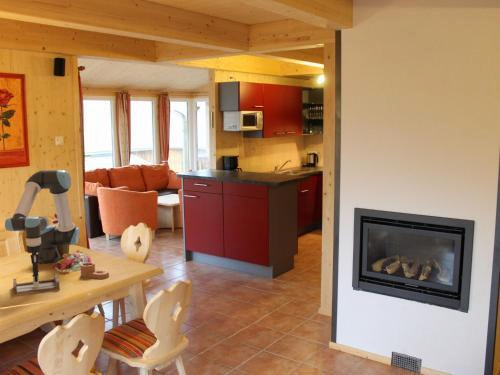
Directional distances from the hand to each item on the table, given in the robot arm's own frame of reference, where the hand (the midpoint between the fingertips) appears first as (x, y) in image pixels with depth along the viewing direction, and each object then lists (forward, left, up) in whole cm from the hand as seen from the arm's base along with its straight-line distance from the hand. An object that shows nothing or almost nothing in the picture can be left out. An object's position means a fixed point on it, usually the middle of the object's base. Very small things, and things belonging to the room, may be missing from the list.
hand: (36, 285), depth 277 cm
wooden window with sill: (0, 0, -2) cm, 2 cm away
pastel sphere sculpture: (-37, +24, -2) cm, 44 cm away
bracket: (-9, +33, -2) cm, 34 cm away
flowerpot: (-70, +19, -2) cm, 73 cm away
